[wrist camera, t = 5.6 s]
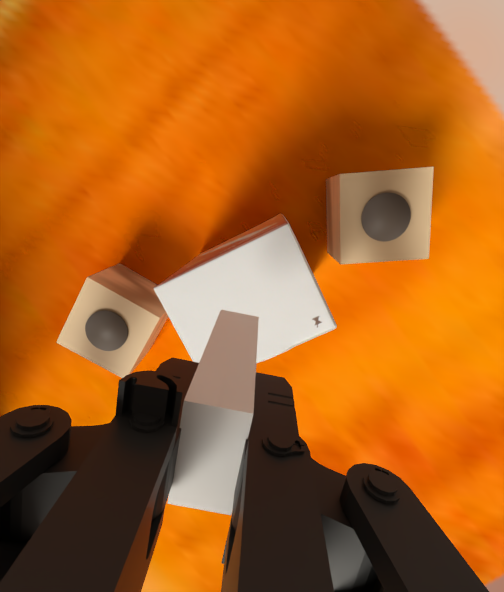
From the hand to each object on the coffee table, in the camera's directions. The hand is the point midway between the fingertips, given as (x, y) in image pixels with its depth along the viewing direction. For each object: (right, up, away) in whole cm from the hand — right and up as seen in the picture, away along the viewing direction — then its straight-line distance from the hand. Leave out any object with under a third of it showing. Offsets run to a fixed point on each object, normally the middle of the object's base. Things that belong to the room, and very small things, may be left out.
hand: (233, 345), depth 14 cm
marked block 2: (+10, +9, +16) cm, 21 cm away
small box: (+1, +5, +17) cm, 18 cm away
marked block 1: (-10, +1, +19) cm, 21 cm away
